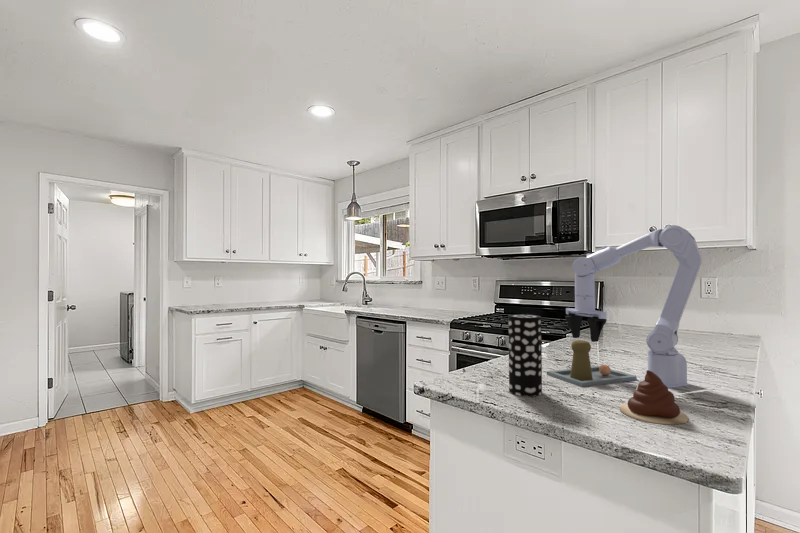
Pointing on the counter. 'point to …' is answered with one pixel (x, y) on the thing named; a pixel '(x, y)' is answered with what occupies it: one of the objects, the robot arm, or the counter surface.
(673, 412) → the poop emoji
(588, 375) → the pepper shaker
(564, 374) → the tray
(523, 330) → the spotted tube
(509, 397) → the counter surface
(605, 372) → the ball
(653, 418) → the cork coaster
